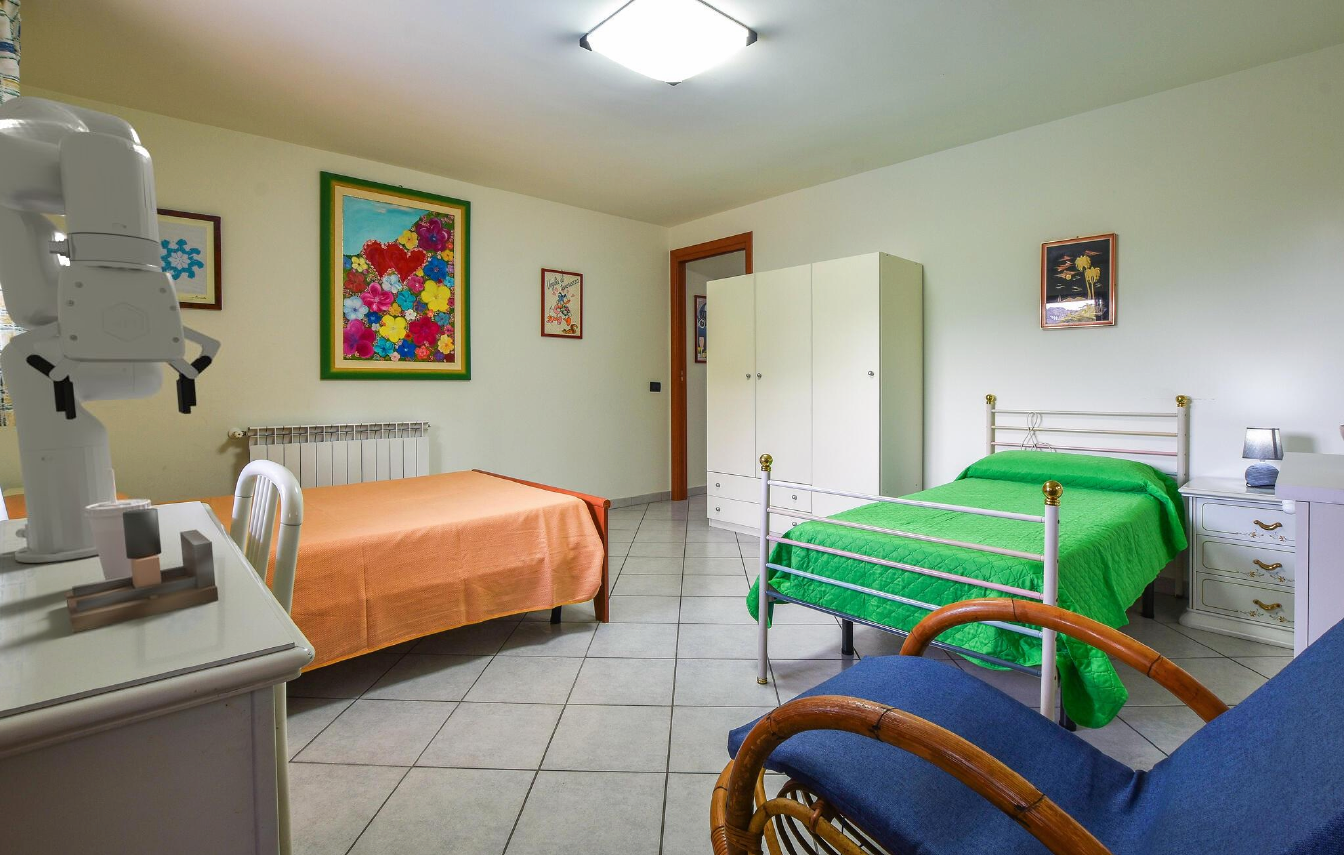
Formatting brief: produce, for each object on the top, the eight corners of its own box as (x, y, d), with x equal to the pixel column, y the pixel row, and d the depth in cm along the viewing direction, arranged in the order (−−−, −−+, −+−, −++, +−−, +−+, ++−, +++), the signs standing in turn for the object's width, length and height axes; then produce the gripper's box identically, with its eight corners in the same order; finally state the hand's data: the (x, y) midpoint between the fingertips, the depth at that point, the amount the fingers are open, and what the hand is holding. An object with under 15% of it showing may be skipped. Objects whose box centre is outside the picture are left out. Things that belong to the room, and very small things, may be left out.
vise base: (73, 632, 63) (66, 568, 62) (67, 605, 71) (61, 548, 70) (218, 599, 72) (213, 543, 71) (199, 579, 79) (194, 528, 79)
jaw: (132, 594, 69) (125, 516, 68) (127, 584, 72) (119, 510, 71) (167, 587, 71) (160, 512, 70) (160, 578, 74) (154, 505, 73)
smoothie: (123, 571, 83) (113, 465, 82) (171, 570, 83) (161, 465, 82) (76, 587, 77) (64, 473, 76) (127, 587, 77) (116, 473, 75)
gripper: (-1, 242, 59) (18, 423, 61) (220, 262, 72) (232, 413, 73) (0, 252, 65) (18, 419, 66) (207, 270, 77) (217, 410, 79)
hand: (130, 415), depth 70 cm, fingers open, 9 cm apart
